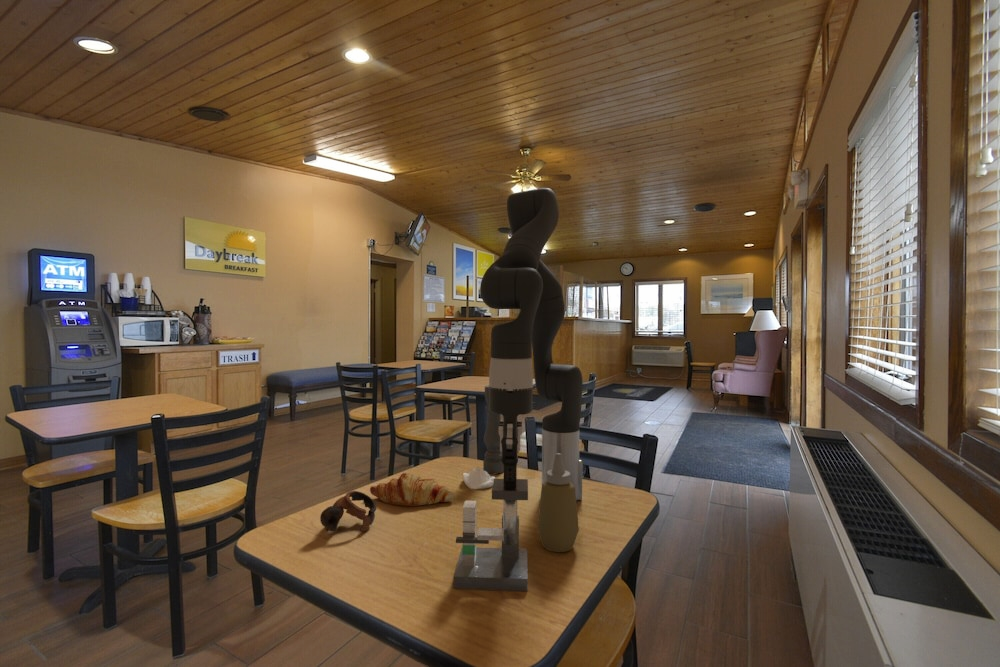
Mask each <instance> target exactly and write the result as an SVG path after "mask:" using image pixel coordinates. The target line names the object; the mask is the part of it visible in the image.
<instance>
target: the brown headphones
mask: <svg viewBox="0 0 1000 667" xmlns="http://www.w3.org/2000/svg"><path fill="white" fill-rule="evenodd" d="M355 501H358V502H359V501H363V503H364V507H365V508H368V509H369V510H368V512H367V510H366V509H365V508H361V507H360V506H358V505H356V504H355V503H354V502H355ZM376 510H377V505H376V502H375V501H374V500H373V498H372V497H370V496H369V495H367V494H366V493H363V492H362V491H356V490H350V491H348V492H346V493H345V495H344V496H342V497H340V498H338V499H337V500H335V502H334V503H333V504H332V505H331V506H328V507H326V508H325V509H324V510H322V512H321V513H320V515H319V516H320V523H321V526H323V527H324V528H325V530H326V532H329V531H330V532H336V531H337V529H338V528H337V527H338V524H339V523H340V520H341V519H342V518H343V517H344V516H343V515H344V512H345V513H346V514H348V515H350V516H351V517H356V518H357V519H358V520H362V525H361V527H360V531H361V532H362V533H366V532H367V530H368V529H369V527H370V526H372V524H373V523H374V520H375V517H376V515H375V513H376Z"/></svg>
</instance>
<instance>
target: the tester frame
mask: <svg viewBox="0 0 1000 667" xmlns="http://www.w3.org/2000/svg"><path fill="white" fill-rule="evenodd" d="M501 528H503V514H502V515H501ZM462 537H477V500H465V501H464V503H463V506H462ZM457 560H458V561H457V564H456V567H455V571H454V575H453V589H456V590H458V589H459V590H477V591H478V590H479V591H481V590H485V591H508V592H509V591H515V592H528V590H529V589H528V582H529V581H528V578H529V577H528V576H529V575H528V549H527V548H520V516H519V515H517V544H515V545H512V546H508V545H505V544H504V543H503V541H501V548H500V547H477V544H475V543H462V545H461V548H460V554H459V557H458V559H457Z"/></svg>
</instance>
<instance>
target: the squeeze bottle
mask: <svg viewBox="0 0 1000 667" xmlns="http://www.w3.org/2000/svg"><path fill="white" fill-rule="evenodd" d="M577 507H578V506H577V501H576V494H575V486H574V485H573V484H572V483H571V482H570V472H568V471H566V470H565V469H564V464H563V459H562V454H560V453H556V454H555V459H554V463H553V468H552V470H549V471H547V481H546V482H544V483H543V484H542V483H541V490H540V499H539V508H538V519H537V531H538V534H539V537H540V540H541V544H542V546H543V547H544V548H545V549H546V550H548V551H550V552H556V553H566V552H568V551H569V552H570V550H572V549H573V547H574V545H575V542H576V540H577V536H578V534H579V531H580V530H579V529H580V526H579V519H578V518H579V517H578V508H577Z"/></svg>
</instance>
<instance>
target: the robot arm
mask: <svg viewBox="0 0 1000 667" xmlns="http://www.w3.org/2000/svg"><path fill="white" fill-rule="evenodd" d="M506 213H507V219H508V222H509V228H510V232H511V233H510V234H511V236H510V237H509V239H508V240H507V243H506V244H505V246H504V249H503V252H502V255H500V256H499V257H498V258H497V259H496V260H495V261H494V262H493V263H492V264H491V265H490V266H489V267H488V268H487V269H486V271H485V272H484V273H483V276H482V278H481V281H480V286H479V289H480V290H479V293H480V297H481V299H482V301H483V303H484V304H485V305H486V306H487V307H489V308H490V309H495V310H519V311H520V312H519V314H518V315H517V317H515V319H514V320H510V321H507V322H500V323H497V324H495V325H493V327H491V331H490V363H489V364H490V365H489V369H488V370H489V371H488V377H489V378H488V385H489V410H490V411H491V412H492V413H495V414H501V416H502V417H503V418H502V419H503V420H501V421H500V423H499V435H500V451H502V464H504V472H503V479H504V485H505V486H515V485H516V481H517V479H518V478H517V477H518V476H517V475H518V474H517V473H518V472H517V470H518V468H517V466H518V463H519V456H518V454H519V452H520V451H521V436H522V432H523V421H520V420H519V421H518V416H519V415H524V416H525V415H529V414H530V413H532V411H533V406H534V404H533V402H534V401H533V399H534V398H533V397H534V396H533V395H534V394H533V393H534V392H533V391H534V387H533V386H534V385H533V384H534V382H535V388H536V392H537V394H538V397H540V399H541V400H544V401H549V402H552V401H553V402H558V403H561V408H560V410H559V411H558V412H555V413H554V412H553V413H549V414H546V415H545V416H544V417H543V418H542V422H541V423H542V424H541V433H542V434H541V485H542V484H543V483H544V482H546V481H547V471H549V470H552V468H553V463H554V459H555V454H556V453H560V454H562V459H563V464H564V469H565V470H566V471H568V472H570V482H571V483H572V484H573V485H574V486H575V494H576V502H577V501H579V500H583V460H582V459H580V423H581V417H582V402H583V400H582V399H583V384H584V383H583V380H584V379H583V374H582V373H583V372H582V371H581V369H580V368H579V367H578V366H576V365H571V364H559V363H558V364H556V363H555V364H554V361H553V354H552V353H553V352H552V350H553V349H552V348H553V344H554V341H555V338H556V336H557V334H558V333H559V330H560V329H561V326H562V324H563V322H564V318H565V316H566V308H565V302H564V300H565V299H564V293H563V288H562V285H561V283H560V281H559V280H558V278H557V277H556V276H555V274H554V273H553V271H551V270H550V269H549V268H548V266H547V265H546V264H545V263H544V262H543V261H542V260H541V255H542V253H543V250H544V248H545V246H546V244H547V243H548V241H549V239H550V238H551V236H552V234H553V233H554V231H555V229H556V228H557V226H558V224H559V223H558V222H559V217H560V216H559V215H560V210H559V203H558V199H557V195H556V193H555V192H554V190H552V189H551V188H548V187H547V188H546V187H540V188H535V189H534V188H533V189H530V190H529V189H528V190H525V191H524V190H523V191H520V192H519V191H518V192H514V193H511V194H509V195H508V198H507V202H506ZM532 359H533V362H532ZM533 370H534V371H533ZM533 372H534V373H533Z"/></svg>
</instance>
